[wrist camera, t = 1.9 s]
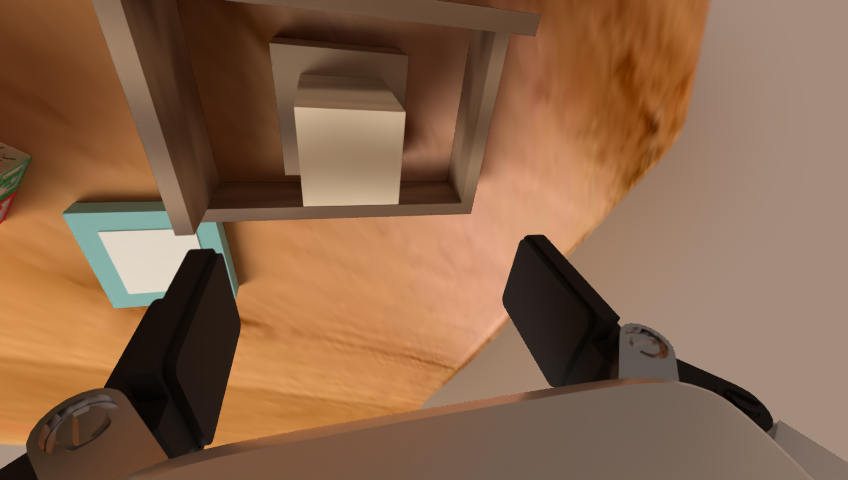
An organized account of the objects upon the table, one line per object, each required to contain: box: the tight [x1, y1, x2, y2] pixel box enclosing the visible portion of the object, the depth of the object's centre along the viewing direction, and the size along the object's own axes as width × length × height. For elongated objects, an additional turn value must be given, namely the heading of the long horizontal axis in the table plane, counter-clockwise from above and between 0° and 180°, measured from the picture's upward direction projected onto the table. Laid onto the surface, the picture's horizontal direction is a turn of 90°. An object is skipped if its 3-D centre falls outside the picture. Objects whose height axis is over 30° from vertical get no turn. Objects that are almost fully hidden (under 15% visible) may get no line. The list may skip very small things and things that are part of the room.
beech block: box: [294, 74, 406, 206], centre depth 20 cm, size 5×5×7 cm
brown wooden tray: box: [91, 0, 541, 236], centre depth 22 cm, size 14×20×7 cm
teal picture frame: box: [62, 201, 239, 308], centre depth 28 cm, size 9×9×2 cm
